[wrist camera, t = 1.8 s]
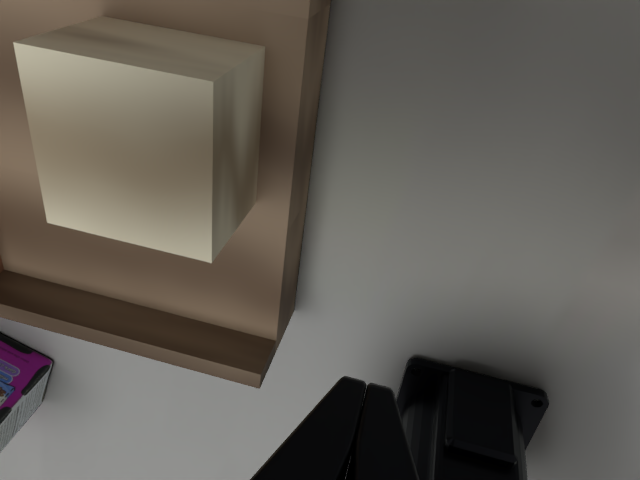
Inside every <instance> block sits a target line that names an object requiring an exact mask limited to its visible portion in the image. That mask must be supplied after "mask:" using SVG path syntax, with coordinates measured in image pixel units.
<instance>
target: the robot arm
mask: <svg viewBox="0 0 640 480" xmlns="http://www.w3.org/2000/svg"><path fill="white" fill-rule="evenodd" d="M413 368H418V369H420V370H415V369H413ZM365 390H366V392H365ZM364 395H365V396H364ZM363 399H364V400H363ZM535 399H538V401H534V400H535ZM362 404H363V405H362ZM548 405H549V401H548V396H547V393H545V392H544V391H542V390H540V389H536V388H532V387H529V386H525V385H521V384H517V383H513V382H509V381H505V380H501V379H497V378H494V377H490V376H486V375H482V374H478V373H474V372H470V371H466V370H462V369H459V368H455V367H451V366H447V365H443V364H439V363H435V362H431V361H427V360H424V359H420V358H413V359H410V360H409V361H408V362H407V364H406V368H405V371H404V375H403V378H402V382H401V385H400V388H399V392H398V395H397V399H395V396H394V393H393V391H392V389H391V388H389V387H385V386H381V385H378V384H374V383H369V384H368V385H367V388H366V383H365V382H364V381H363V380H359V379H355V378H351V377H348V376H344V377H342V378H341V379H340V380H339V381H338V382H337V383H336V384H335V385H334V386H333V387H332V389H331V390H330V391H329V392H328V393H327V394H326V395H325V396H324V397H323V399H322V400H321V401H320V402H319V403H318V404H317V405H316V406H315V408H314V409H313V410H312V411H311V412H310V413H309V414H308V415H307V417H306V418H305V419H304V420H303V421H302V422H301V423H300V424H299V425H298V427H297V428H296V429H295V430H294V431H293V432H292V433H291V434H290V436H289V437H288V438H287V439H286V440H285V441H284V442H283V443H282V444H281V446H280V447H279V448H278V449H277V450H276V451H275V452H274V453H273V455H272V456H271V457H270V458H269V459H268V460H267V461H266V462H265V464H264V465H263V466H262V467H261V468H260V469H259V470H258V471H257V472H256V474H255V475H254V476H253V477H252V478H251V479H250V480H528V479H527V469H526V458H525V449H526V447H527V446H528V444H529V442H530V440H531V438H532V436H533V434H534V432H535V430H536V429H537V427H538V425H539V423H540V421H541V419H542V417H543V415H544V413H545V412H546V410H547V408H548ZM361 408H362V409H361ZM350 456H351V457H350ZM348 465H349V466H348ZM347 469H348V470H347ZM346 473H347V474H346ZM345 477H346V479H345Z"/></svg>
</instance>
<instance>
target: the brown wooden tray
mask: <svg viewBox="0 0 640 480" xmlns="http://www.w3.org/2000/svg"><path fill="white" fill-rule="evenodd" d="M330 4H331V0H0V317H2V318H5V319H9V320H13V321H16V322H20V323H24V324H27V325H31V326H34V327H38V328H42V329H45V330H49V331H53V332H56V333H60V334H63V335H67V336H71V337H74V338H78V339H82V340H85V341H89V342H92V343H96V344H100V345H103V346H107V347H111V348H114V349H118V350H121V351H125V352H129V353H132V354H136V355H140V356H143V357H147V358H150V359H154V360H158V361H161V362H165V363H169V364H172V365H176V366H179V367H183V368H187V369H190V370H194V371H198V372H201V373H205V374H208V375H212V376H216V377H219V378H223V379H227V380H230V381H234V382H237V383H241V384H245V385H248V386H252V387H256V388H259V389H260V387H261V384H262V382H263V380H264V378H265V375H266V373H267V371H268V369H269V366H270V364H271V362H272V359H273V357H274V355H275V353H276V350H277V348H278V346H279V344H280V341H281V339H282V337H283V335H284V332H285V330H286V328H287V326H288V323H289V321H290V319H291V316H292V314H293V312H294V306H295V297H296V289H297V281H298V272H299V264H300V256H301V247H302V239H303V230H304V222H305V214H306V205H307V197H308V189H309V180H310V172H311V163H312V155H313V147H314V138H315V130H316V122H317V113H318V105H319V97H320V88H321V80H322V71H323V63H324V55H325V46H326V38H327V30H328V21H329V13H330ZM100 16H104V17H109V18H115V19H120V20H126V21H131V22H136V23H142V24H147V25H152V26H158V27H163V28H169V29H174V30H179V31H185V32H190V33H196V34H201V35H206V36H212V37H217V38H222V39H228V40H233V41H239V42H244V43H249V44H255V45H260V46H265V61H264V78H263V95H262V111H261V128H260V145H259V161H258V178H257V195H256V203H255V205H254V206H253V207H252V209H251V210H250V211H249V213H248V214H247V216H246V217H245V218H244V220H243V221H242V222H241V224H240V225H239V227H238V228H237V229H236V231H235V232H234V233H233V235H232V236H231V237H230V239H229V240H228V242H227V243H226V244H225V246H224V247H223V248H222V250H221V251H220V253H219V254H218V255H217V257H216V258H215V259H214V261H213V262H212V263H209V262H205V261H201V260H197V259H193V258H189V257H184V256H180V255H176V254H172V253H168V252H164V251H160V250H156V249H152V248H148V247H144V246H140V245H136V244H132V243H128V242H123V241H119V240H115V239H111V238H107V237H103V236H99V235H95V234H91V233H87V232H83V231H79V230H75V229H71V228H67V227H62V226H58V225H54V224H50V223H47V219H46V214H45V208H44V203H43V198H42V192H41V187H40V182H39V177H38V171H37V166H36V161H35V155H34V150H33V145H32V139H31V134H30V129H29V124H28V118H27V113H26V108H25V102H24V97H23V92H22V87H21V81H20V76H19V71H18V65H17V60H16V55H15V49H14V44H13V42H16V41H19V40H22V39H26V38H29V37H32V36H36V35H39V34H43V33H46V32H49V31H53V30H56V29H59V28H63V27H66V26H70V25H73V24H76V23H80V22H83V21H86V20H90V19H93V18H96V17H100Z"/></svg>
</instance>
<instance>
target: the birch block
mask: <svg viewBox="0 0 640 480" xmlns="http://www.w3.org/2000/svg"><path fill="white" fill-rule="evenodd" d="M13 44H14V49H15V55H16V60H17V65H18V71H19V76H20V81H21V87H22V92H23V97H24V102H25V108H26V113H27V118H28V124H29V129H30V134H31V139H32V145H33V150H34V155H35V161H36V166H37V171H38V177H39V182H40V187H41V192H42V198H43V203H44V208H45V214H46V219H47V223H50V224H54V225H58V226H62V227H67V228H71V229H75V230H79V231H83V232H87V233H91V234H95V235H99V236H103V237H107V238H111V239H115V240H119V241H123V242H128V243H132V244H136V245H140V246H144V247H148V248H152V249H156V250H160V251H164V252H168V253H172V254H176V255H180V256H184V257H189V258H193V259H197V260H201V261H205V262H209V263H212V262H213V261H214V259H215V258H216V257H217V255H218V254H219V253H220V251H221V250H222V248H223V247H224V246H225V244H226V243H227V242H228V240H229V239H230V237H231V236H232V235H233V233H234V232H235V231H236V229H237V228H238V227H239V225H240V224H241V222H242V221H243V220H244V218H245V217H246V216H247V214H248V213H249V211H250V210H251V209H252V207H253V206H254V205H255V203H256V195H257V178H258V161H259V145H260V128H261V111H262V95H263V78H264V61H265V46H260V45H255V44H249V43H244V42H239V41H233V40H228V39H222V38H217V37H212V36H206V35H201V34H196V33H190V32H185V31H179V30H174V29H169V28H163V27H158V26H152V25H147V24H142V23H136V22H131V21H126V20H120V19H115V18H109V17H104V16H100V17H96V18H93V19H90V20H86V21H83V22H80V23H76V24H73V25H70V26H66V27H63V28H59V29H56V30H53V31H49V32H46V33H43V34H39V35H36V36H32V37H29V38H26V39H22V40H19V41H16V42H13Z"/></svg>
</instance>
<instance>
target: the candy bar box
mask: <svg viewBox="0 0 640 480" xmlns="http://www.w3.org/2000/svg"><path fill="white" fill-rule="evenodd" d="M52 363H53V362H52V361H51V360H50V359H49V358H47V357H45V356H43V355H41V354H39V353H37V352H35V351H33V350H32V349H30V348H28V347H26V346H24V345H22V344H20V343H18V342H16V341H14V340H12V339H10V338H8V337H6V336H4V335H2V334H0V452H1V451H2V450H3V449H4V448H5V447H6V445H7V444H8V443H9V442H10V441H11V439H12V438H13V437H14V436H15V435H16V433H17V432H18V431H19V430H20V429H21V427H22V426H23V425H24V424H25V423H26V422H27V420H28V419H29V418H30V417H31V416H32V414H33V413H34V412H35V411H36V410H37V408H38V407H39V406H40V405H41V403H42V402H43V398H44V395H45V392H46V384H47V380H48V378H49V374H50V371H51V367H52Z"/></svg>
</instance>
